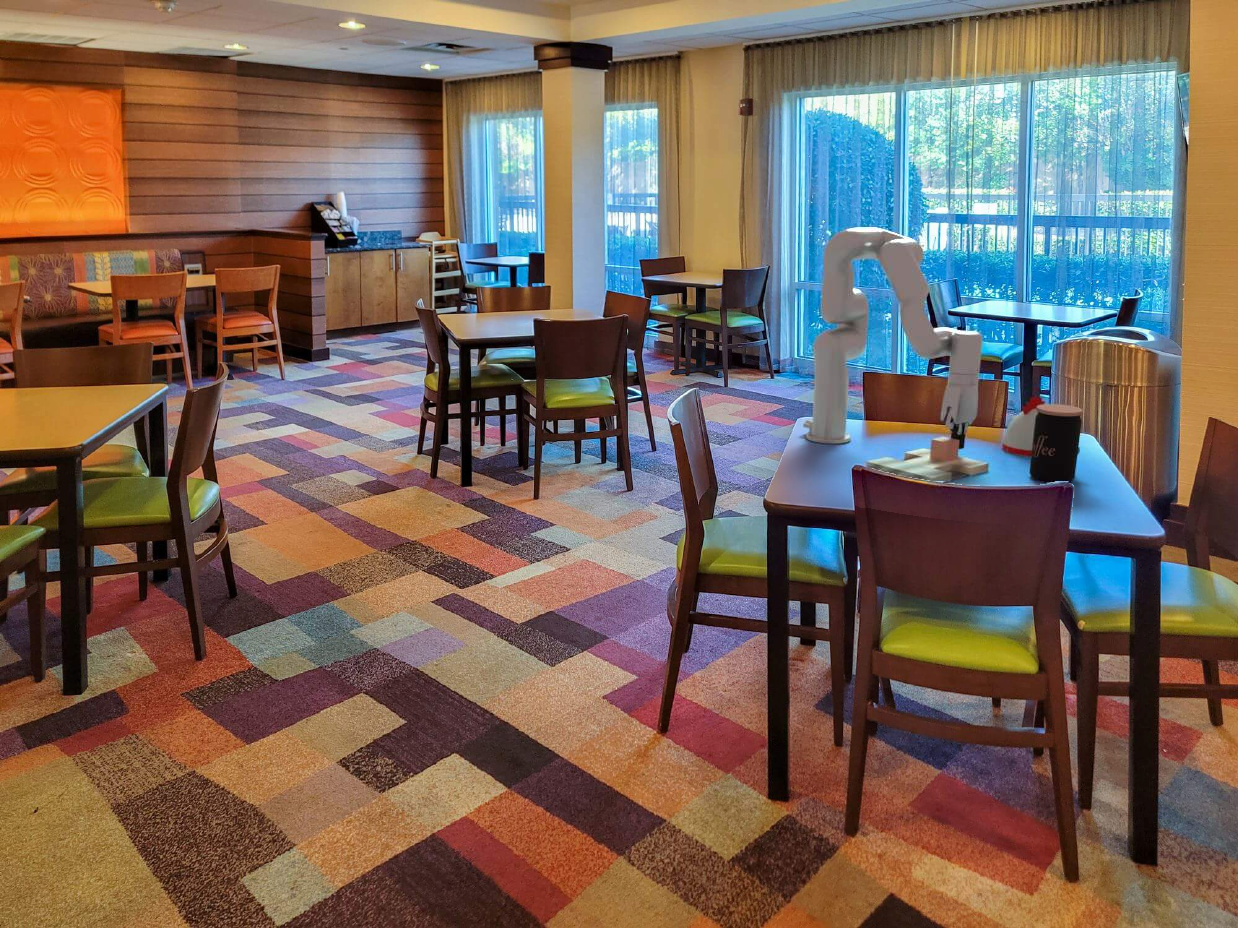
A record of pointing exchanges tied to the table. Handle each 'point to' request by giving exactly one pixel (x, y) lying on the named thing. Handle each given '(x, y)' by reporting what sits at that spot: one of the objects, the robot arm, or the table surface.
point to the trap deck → (928, 466)
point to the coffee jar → (1055, 443)
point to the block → (944, 449)
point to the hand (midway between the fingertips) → (956, 447)
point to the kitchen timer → (1022, 429)
